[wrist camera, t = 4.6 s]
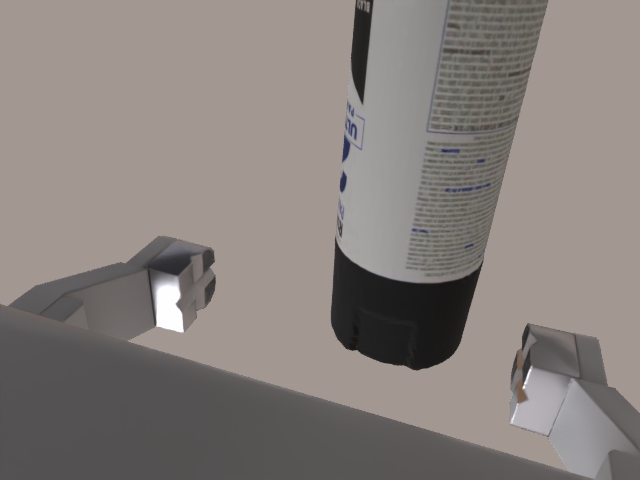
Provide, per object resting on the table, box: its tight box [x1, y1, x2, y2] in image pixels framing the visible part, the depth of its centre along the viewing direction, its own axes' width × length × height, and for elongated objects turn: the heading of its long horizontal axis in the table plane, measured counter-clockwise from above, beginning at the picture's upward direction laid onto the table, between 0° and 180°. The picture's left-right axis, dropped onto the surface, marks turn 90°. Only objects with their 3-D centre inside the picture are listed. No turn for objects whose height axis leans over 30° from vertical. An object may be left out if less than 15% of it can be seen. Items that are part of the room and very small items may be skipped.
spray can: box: [331, 0, 548, 370], centre depth 22 cm, size 7×7×20 cm
